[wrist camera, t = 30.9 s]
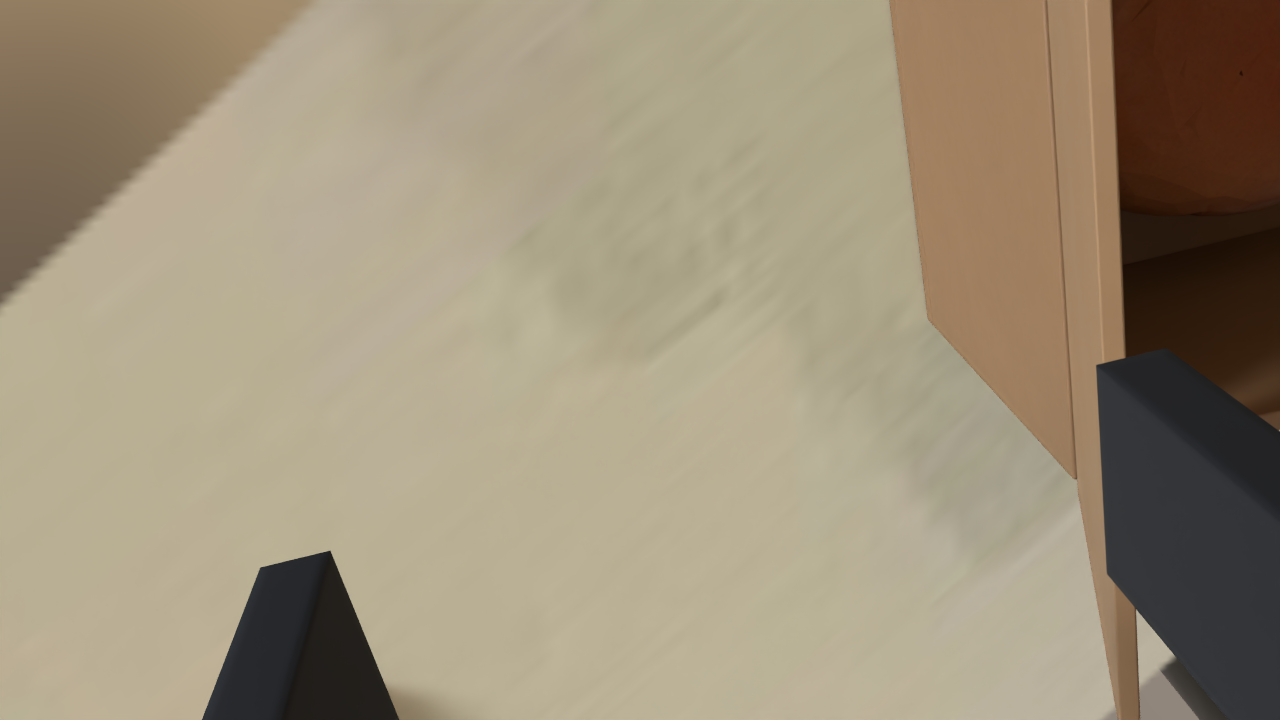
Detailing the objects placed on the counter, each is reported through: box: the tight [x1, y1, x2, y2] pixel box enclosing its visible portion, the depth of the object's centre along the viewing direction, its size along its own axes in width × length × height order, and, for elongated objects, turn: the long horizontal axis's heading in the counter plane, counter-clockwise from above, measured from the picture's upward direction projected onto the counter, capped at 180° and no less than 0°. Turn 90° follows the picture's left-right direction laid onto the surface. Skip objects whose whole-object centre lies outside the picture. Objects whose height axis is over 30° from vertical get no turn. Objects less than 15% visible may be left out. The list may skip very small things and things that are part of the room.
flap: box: [1047, 0, 1140, 720], centre depth 17 cm, size 14×7×1 cm
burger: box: [1112, 0, 1280, 216], centre depth 27 cm, size 10×9×5 cm
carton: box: [890, 0, 1280, 479], centre depth 25 cm, size 14×14×10 cm
